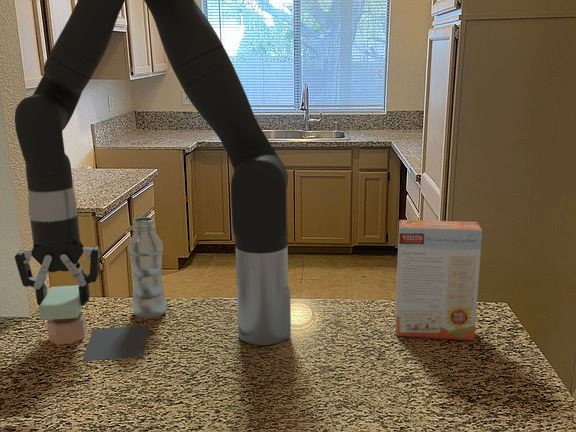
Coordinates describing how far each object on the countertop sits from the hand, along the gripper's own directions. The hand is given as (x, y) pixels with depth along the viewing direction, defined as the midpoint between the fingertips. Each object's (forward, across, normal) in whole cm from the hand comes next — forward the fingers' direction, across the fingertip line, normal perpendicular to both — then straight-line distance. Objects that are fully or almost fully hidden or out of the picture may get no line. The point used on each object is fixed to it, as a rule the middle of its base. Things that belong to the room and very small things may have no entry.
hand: (64, 304), depth 100 cm
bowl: (+7, 0, 0) cm, 7 cm away
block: (+1, 0, 0) cm, 1 cm away
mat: (+7, -9, +4) cm, 12 cm away
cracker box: (+7, -66, +9) cm, 67 cm away
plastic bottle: (+7, -14, -8) cm, 18 cm away
